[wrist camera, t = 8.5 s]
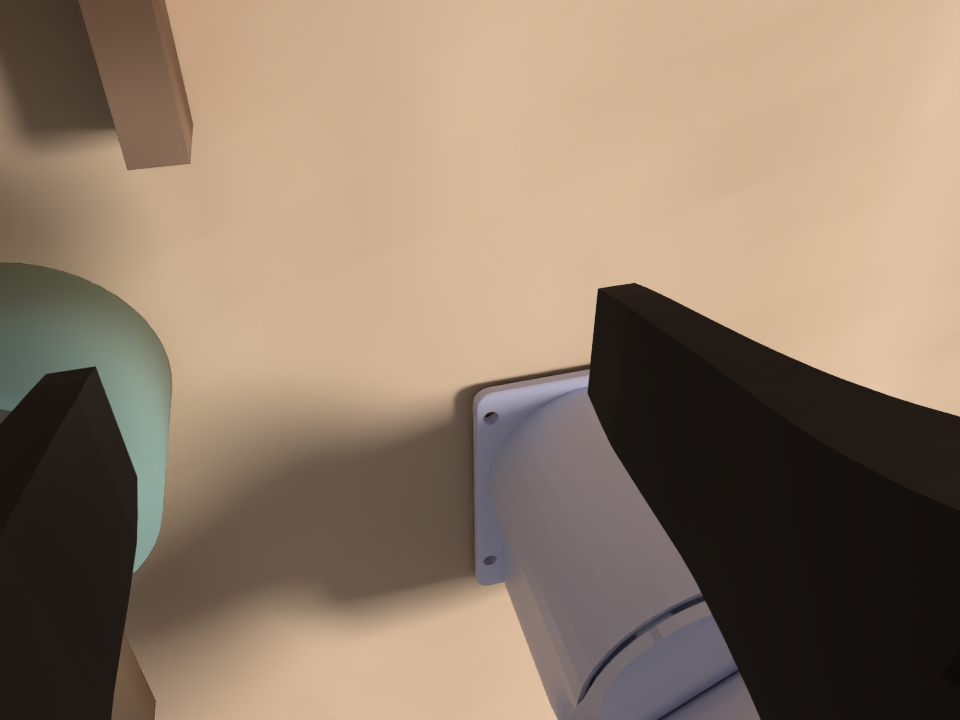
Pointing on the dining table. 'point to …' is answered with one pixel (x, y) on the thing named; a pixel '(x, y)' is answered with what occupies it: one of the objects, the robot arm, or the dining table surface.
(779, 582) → the robot arm
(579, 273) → the dining table surface
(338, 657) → the dining table surface
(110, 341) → the pot
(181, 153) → the holder
